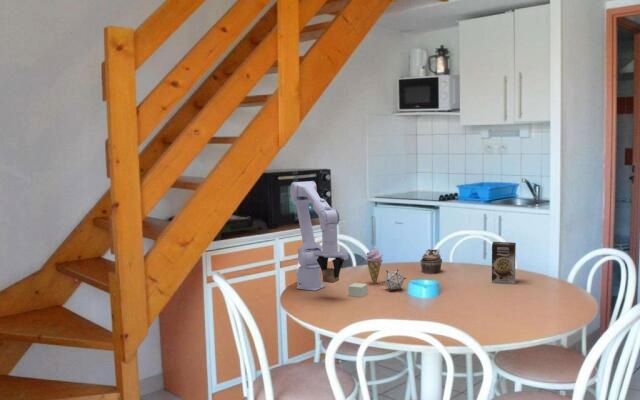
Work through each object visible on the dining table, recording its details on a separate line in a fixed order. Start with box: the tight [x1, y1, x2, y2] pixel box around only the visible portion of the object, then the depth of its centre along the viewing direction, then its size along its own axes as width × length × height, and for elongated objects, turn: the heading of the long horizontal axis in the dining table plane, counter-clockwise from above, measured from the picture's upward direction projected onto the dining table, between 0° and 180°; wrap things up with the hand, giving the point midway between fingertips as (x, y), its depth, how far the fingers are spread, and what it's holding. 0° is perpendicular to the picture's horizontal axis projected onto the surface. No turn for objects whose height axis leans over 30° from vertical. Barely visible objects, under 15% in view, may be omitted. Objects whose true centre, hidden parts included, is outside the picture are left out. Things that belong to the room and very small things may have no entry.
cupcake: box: [419, 248, 443, 275], centre depth 258 cm, size 10×10×10 cm
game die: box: [381, 268, 407, 292], centre depth 230 cm, size 9×8×10 cm
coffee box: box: [491, 241, 517, 285], centre depth 236 cm, size 9×6×16 cm
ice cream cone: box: [366, 247, 383, 285], centre depth 240 cm, size 7×6×15 cm
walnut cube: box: [321, 267, 340, 284], centre depth 221 cm, size 4×4×4 cm
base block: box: [348, 282, 369, 298], centre depth 225 cm, size 6×6×4 cm
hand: (331, 276), depth 221 cm, fingers closed on walnut cube, 4 cm apart
